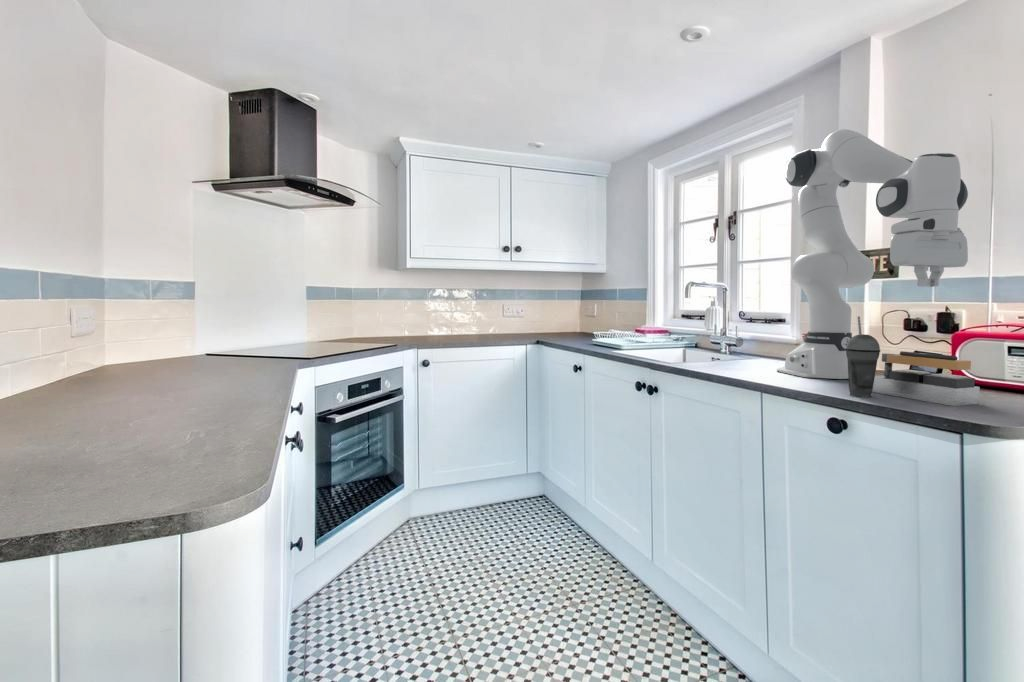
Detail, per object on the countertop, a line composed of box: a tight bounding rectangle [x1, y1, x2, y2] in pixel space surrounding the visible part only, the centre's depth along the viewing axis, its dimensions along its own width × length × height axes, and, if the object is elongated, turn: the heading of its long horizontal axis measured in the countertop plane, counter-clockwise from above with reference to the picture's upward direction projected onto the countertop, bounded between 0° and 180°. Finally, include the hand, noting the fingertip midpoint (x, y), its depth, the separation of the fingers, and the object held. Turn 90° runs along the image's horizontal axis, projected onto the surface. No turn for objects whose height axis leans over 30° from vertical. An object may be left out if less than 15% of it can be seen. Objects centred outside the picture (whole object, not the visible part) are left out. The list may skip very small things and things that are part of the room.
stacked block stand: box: [872, 362, 981, 407], centre depth 123 cm, size 20×8×8 cm, turn 17°
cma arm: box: [881, 350, 972, 371], centre depth 123 cm, size 18×4×3 cm, turn 17°
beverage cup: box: [845, 316, 881, 398], centre depth 125 cm, size 7×7×20 cm
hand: (927, 286), depth 115 cm, fingers closed
